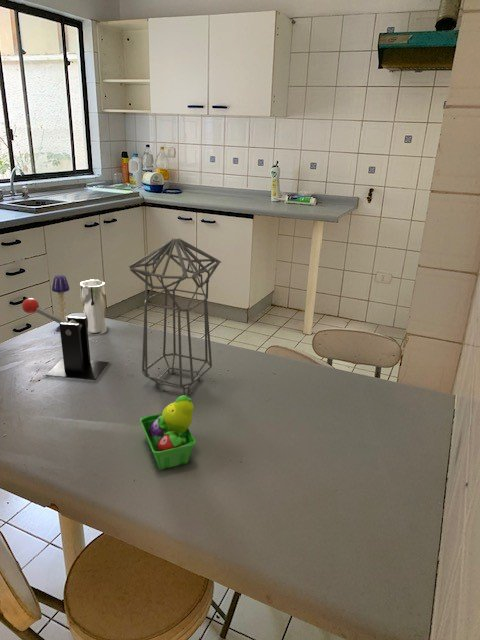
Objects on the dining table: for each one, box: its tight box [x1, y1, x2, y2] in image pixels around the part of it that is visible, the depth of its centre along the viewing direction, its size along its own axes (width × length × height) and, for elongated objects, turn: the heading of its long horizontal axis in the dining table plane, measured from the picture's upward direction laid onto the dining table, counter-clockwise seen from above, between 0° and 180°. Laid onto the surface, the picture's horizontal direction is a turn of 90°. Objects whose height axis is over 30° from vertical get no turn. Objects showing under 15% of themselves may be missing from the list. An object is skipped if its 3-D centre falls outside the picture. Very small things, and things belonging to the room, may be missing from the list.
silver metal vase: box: [79, 279, 108, 336], centre depth 132 cm, size 7×7×15 cm
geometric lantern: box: [127, 238, 222, 396], centre depth 102 cm, size 16×16×35 cm
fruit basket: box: [139, 394, 196, 470], centre depth 84 cm, size 11×9×11 cm
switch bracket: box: [44, 315, 110, 381], centre depth 110 cm, size 12×9×14 cm
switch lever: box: [21, 297, 83, 331], centre depth 108 cm, size 14×4×4 cm, turn 85°
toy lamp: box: [51, 274, 70, 333], centre depth 132 cm, size 5×5×17 cm
